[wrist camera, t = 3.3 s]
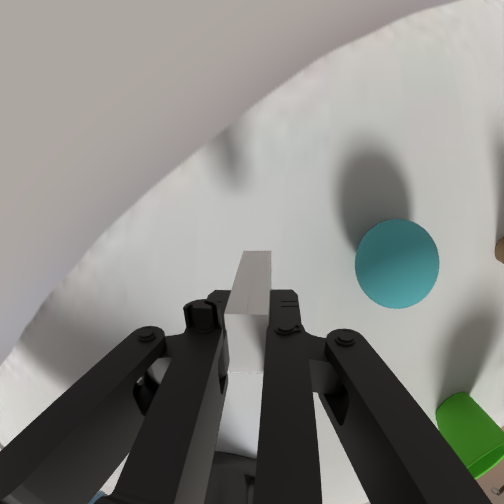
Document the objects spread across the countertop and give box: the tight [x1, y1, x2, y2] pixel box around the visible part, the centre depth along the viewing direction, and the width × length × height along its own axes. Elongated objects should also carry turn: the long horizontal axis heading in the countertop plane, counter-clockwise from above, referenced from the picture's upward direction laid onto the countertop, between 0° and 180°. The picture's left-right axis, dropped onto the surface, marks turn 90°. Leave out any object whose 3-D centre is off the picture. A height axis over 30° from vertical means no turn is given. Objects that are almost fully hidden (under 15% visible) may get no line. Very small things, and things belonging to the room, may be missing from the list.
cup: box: [436, 392, 504, 479], centre depth 21 cm, size 9×9×11 cm
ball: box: [355, 219, 439, 309], centre depth 18 cm, size 6×6×6 cm
